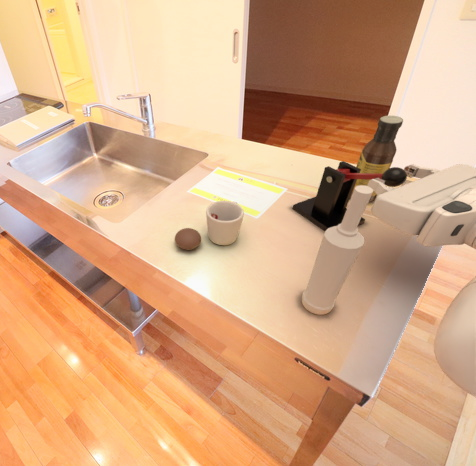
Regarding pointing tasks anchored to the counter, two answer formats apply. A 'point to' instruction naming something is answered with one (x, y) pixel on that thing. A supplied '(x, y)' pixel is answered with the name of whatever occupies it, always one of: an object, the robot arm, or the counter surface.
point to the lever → (379, 176)
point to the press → (330, 198)
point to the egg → (188, 238)
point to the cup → (224, 221)
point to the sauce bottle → (379, 150)
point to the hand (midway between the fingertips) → (389, 175)
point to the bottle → (336, 256)
